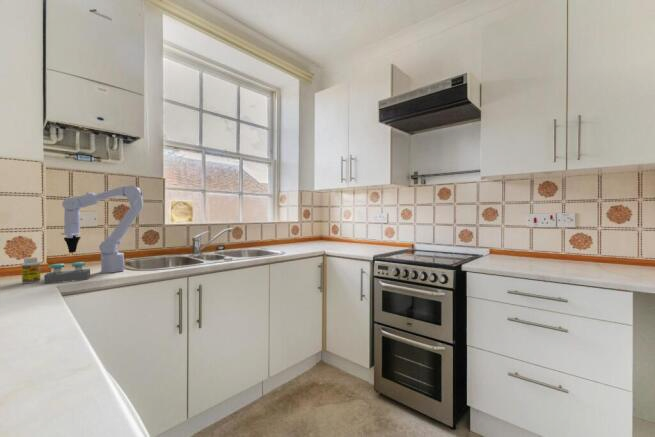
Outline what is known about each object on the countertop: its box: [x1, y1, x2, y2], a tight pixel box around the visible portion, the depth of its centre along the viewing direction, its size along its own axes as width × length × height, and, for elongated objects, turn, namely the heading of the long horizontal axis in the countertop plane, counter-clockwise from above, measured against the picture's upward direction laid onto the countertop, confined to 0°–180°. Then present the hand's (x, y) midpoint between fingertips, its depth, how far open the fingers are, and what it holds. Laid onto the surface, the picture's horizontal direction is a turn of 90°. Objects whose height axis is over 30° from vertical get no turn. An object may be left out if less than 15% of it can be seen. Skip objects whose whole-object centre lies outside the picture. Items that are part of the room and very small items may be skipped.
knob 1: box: [49, 263, 66, 274], centre depth 129 cm, size 5×5×4 cm
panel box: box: [43, 268, 91, 284], centre depth 131 cm, size 14×8×3 cm, turn 122°
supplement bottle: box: [21, 256, 41, 284], centre depth 127 cm, size 6×6×10 cm
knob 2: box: [71, 261, 86, 272], centre depth 133 cm, size 5×5×4 cm
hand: (72, 252), depth 143 cm, fingers closed
